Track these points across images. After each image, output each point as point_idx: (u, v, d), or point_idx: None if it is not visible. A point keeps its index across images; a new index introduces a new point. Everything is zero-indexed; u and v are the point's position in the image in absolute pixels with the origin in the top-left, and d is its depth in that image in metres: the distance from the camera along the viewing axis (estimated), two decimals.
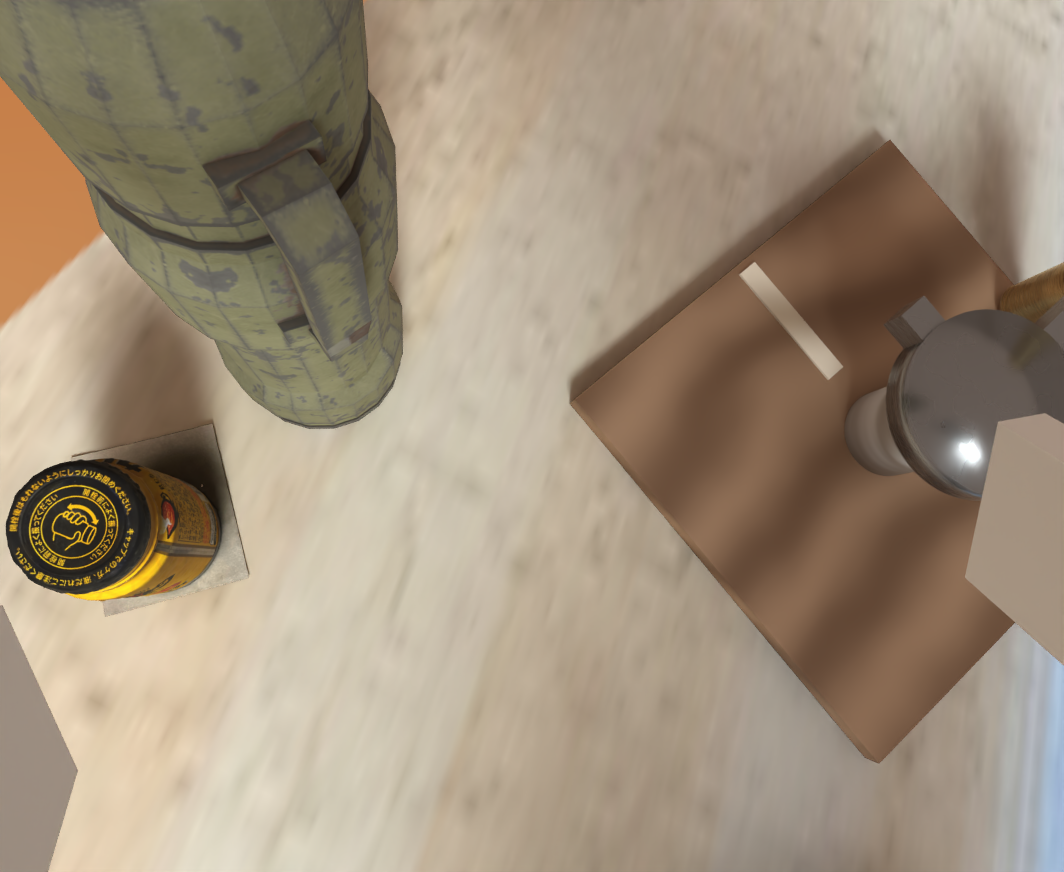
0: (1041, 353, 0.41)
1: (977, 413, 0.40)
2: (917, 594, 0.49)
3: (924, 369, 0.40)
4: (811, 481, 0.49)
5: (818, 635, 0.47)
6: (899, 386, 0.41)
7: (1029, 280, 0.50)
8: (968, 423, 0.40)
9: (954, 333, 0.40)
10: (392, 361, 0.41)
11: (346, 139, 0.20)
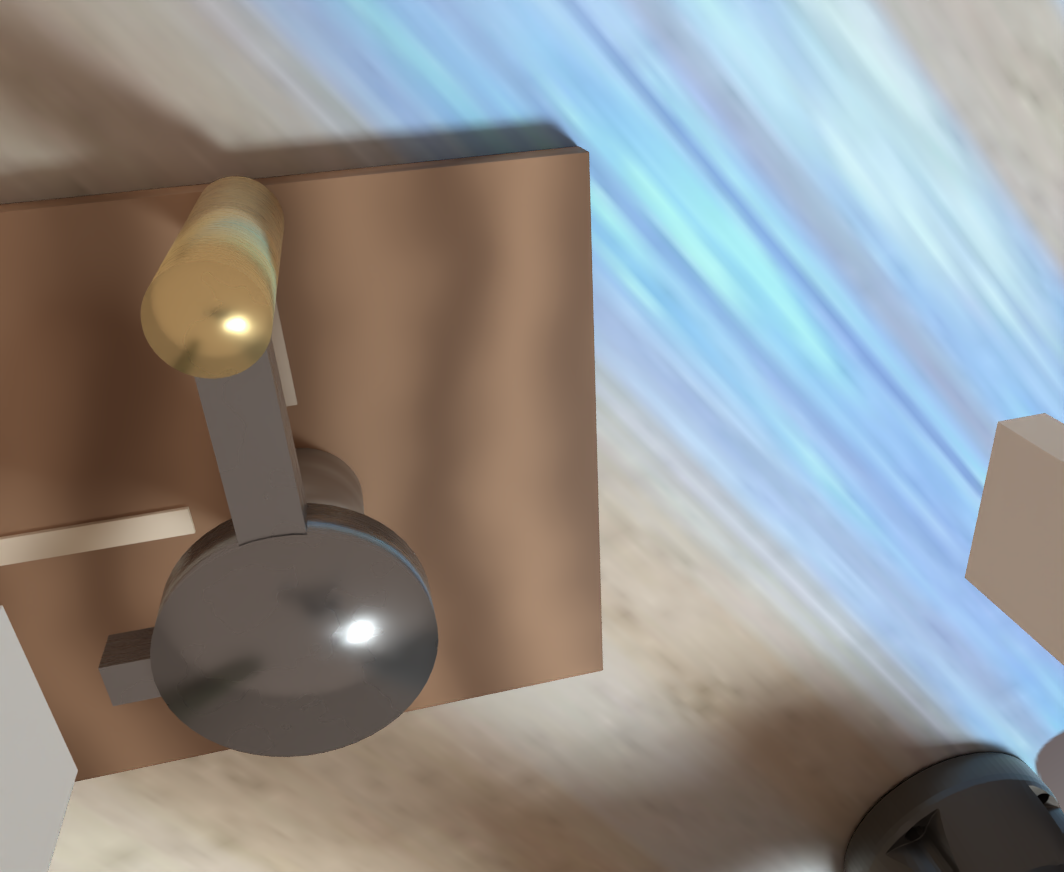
0: (270, 569, 0.26)
1: (298, 683, 0.28)
2: (495, 560, 0.40)
3: (203, 718, 0.28)
4: None
5: (460, 668, 0.42)
6: None
7: None
8: (303, 699, 0.29)
9: (174, 664, 0.27)
10: None
11: None
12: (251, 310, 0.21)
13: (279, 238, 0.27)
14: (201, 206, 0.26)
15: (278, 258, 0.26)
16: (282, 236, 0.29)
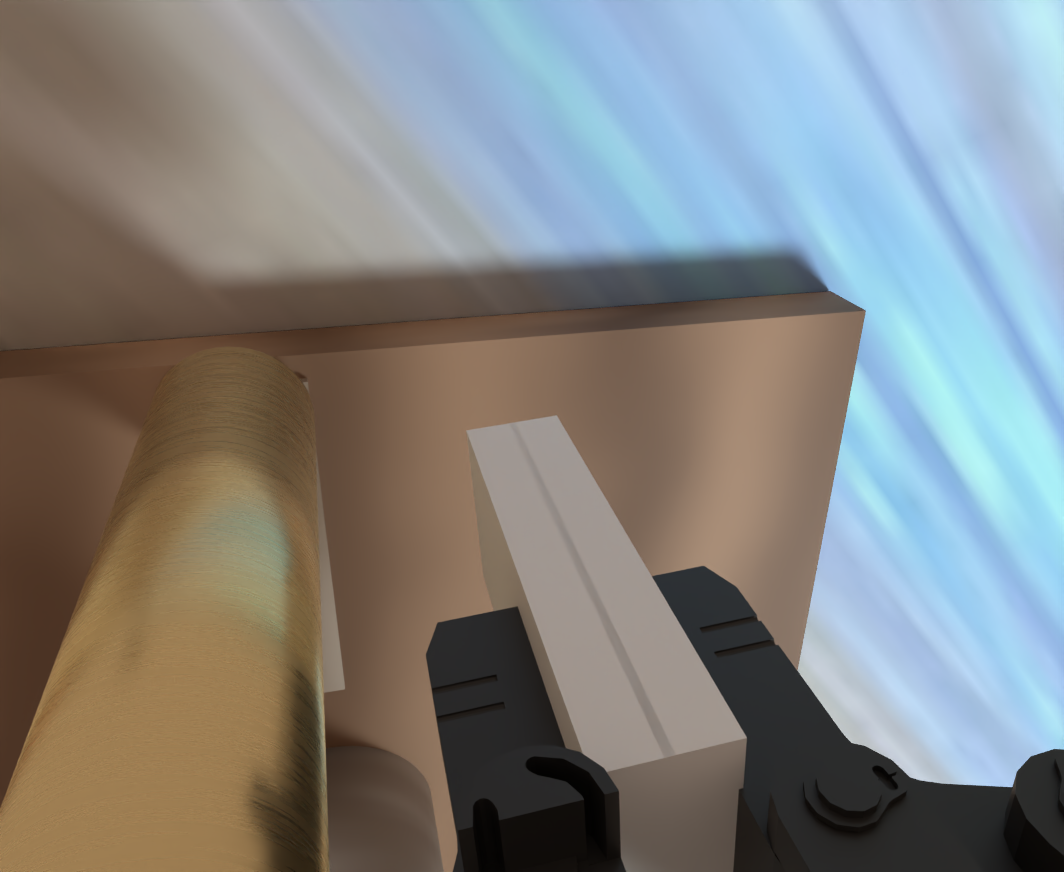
0: None
1: None
2: None
3: None
4: None
5: None
6: None
7: None
8: None
9: None
10: None
11: None
12: None
13: (315, 502, 0.14)
14: (153, 461, 0.12)
15: (319, 580, 0.12)
16: (316, 472, 0.15)
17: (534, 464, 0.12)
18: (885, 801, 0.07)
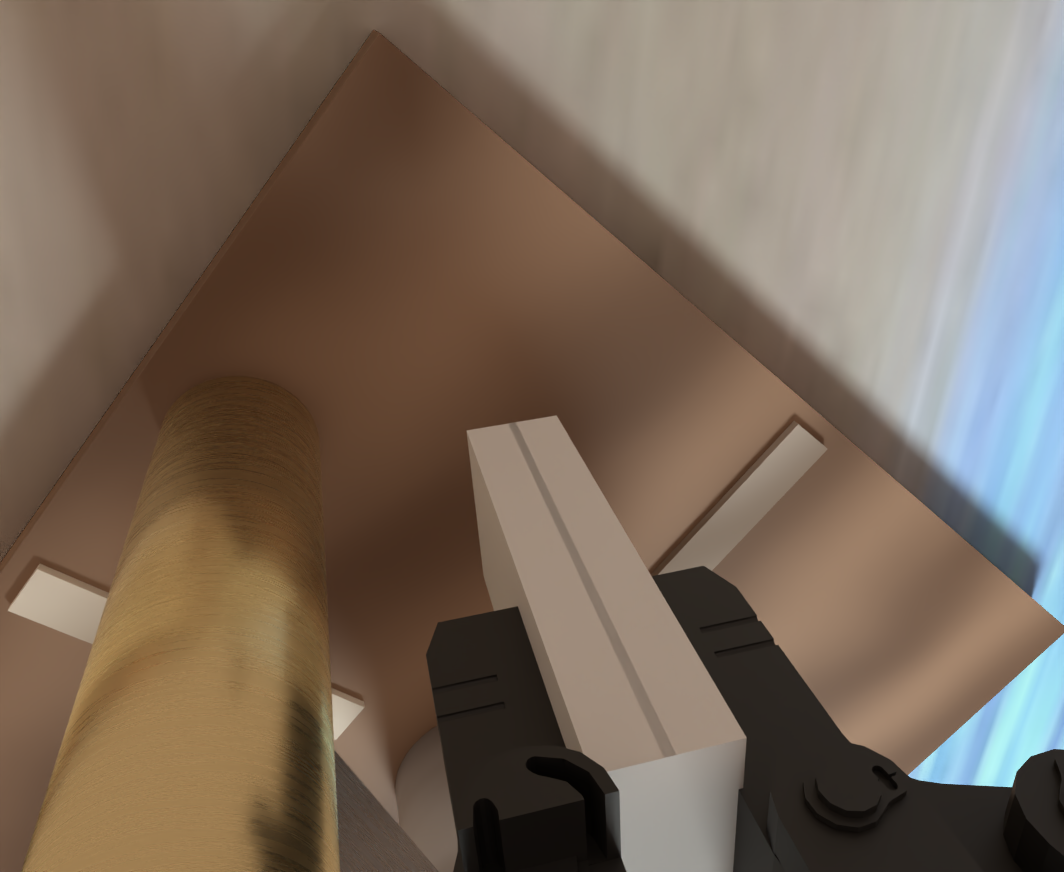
0: None
1: None
2: None
3: None
4: None
5: None
6: None
7: None
8: None
9: None
10: None
11: None
12: None
13: (308, 509, 0.14)
14: (139, 519, 0.13)
15: (315, 588, 0.12)
16: (316, 476, 0.15)
17: (534, 464, 0.12)
18: (885, 802, 0.07)
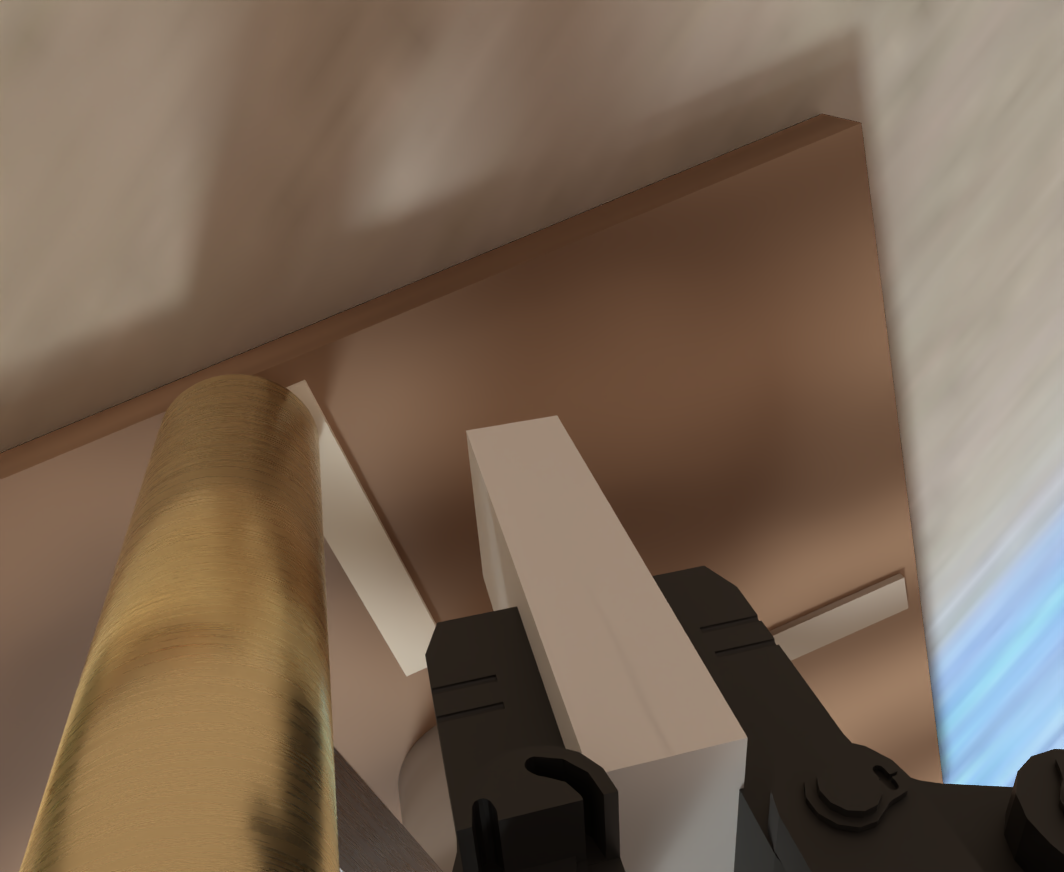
0: None
1: None
2: None
3: None
4: None
5: None
6: None
7: None
8: None
9: None
10: None
11: None
12: None
13: (307, 507, 0.14)
14: (137, 517, 0.13)
15: (314, 585, 0.12)
16: (315, 474, 0.15)
17: (534, 463, 0.12)
18: (885, 801, 0.07)
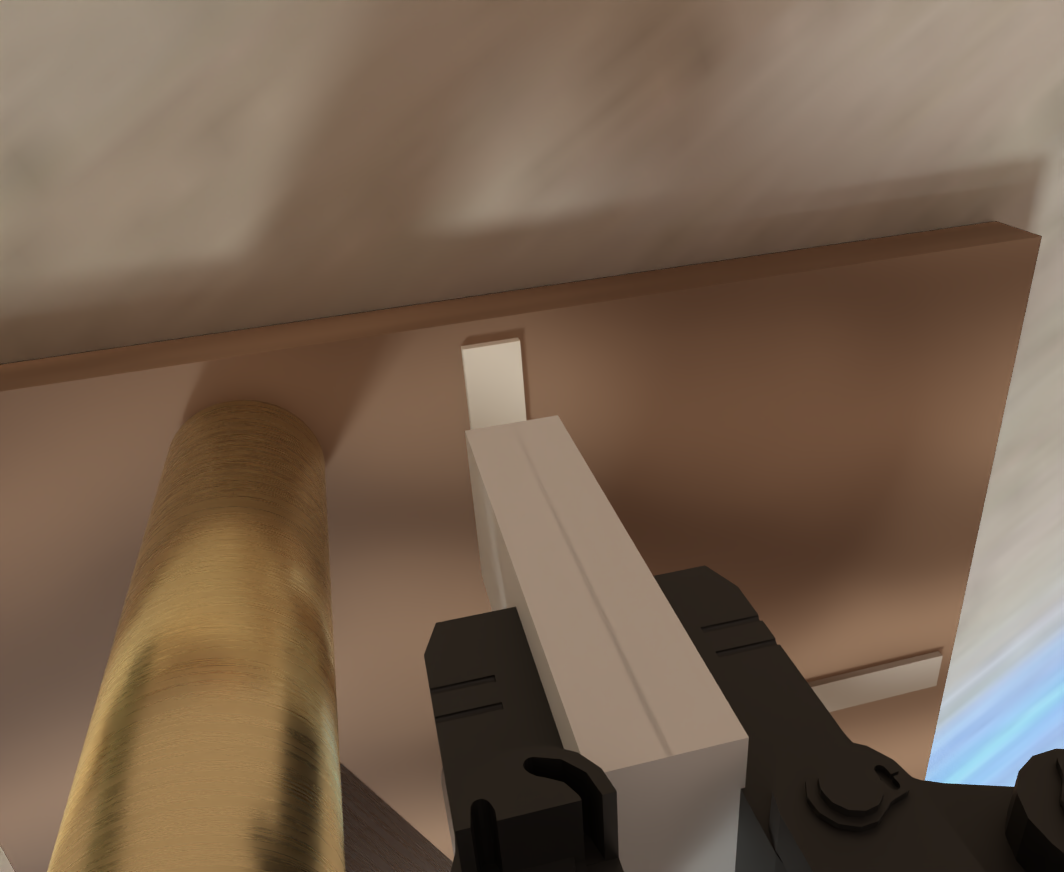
0: None
1: None
2: None
3: None
4: None
5: None
6: None
7: None
8: None
9: None
10: None
11: None
12: None
13: (308, 529, 0.14)
14: (142, 554, 0.13)
15: (315, 608, 0.12)
16: (318, 493, 0.15)
17: (535, 463, 0.12)
18: (887, 801, 0.07)
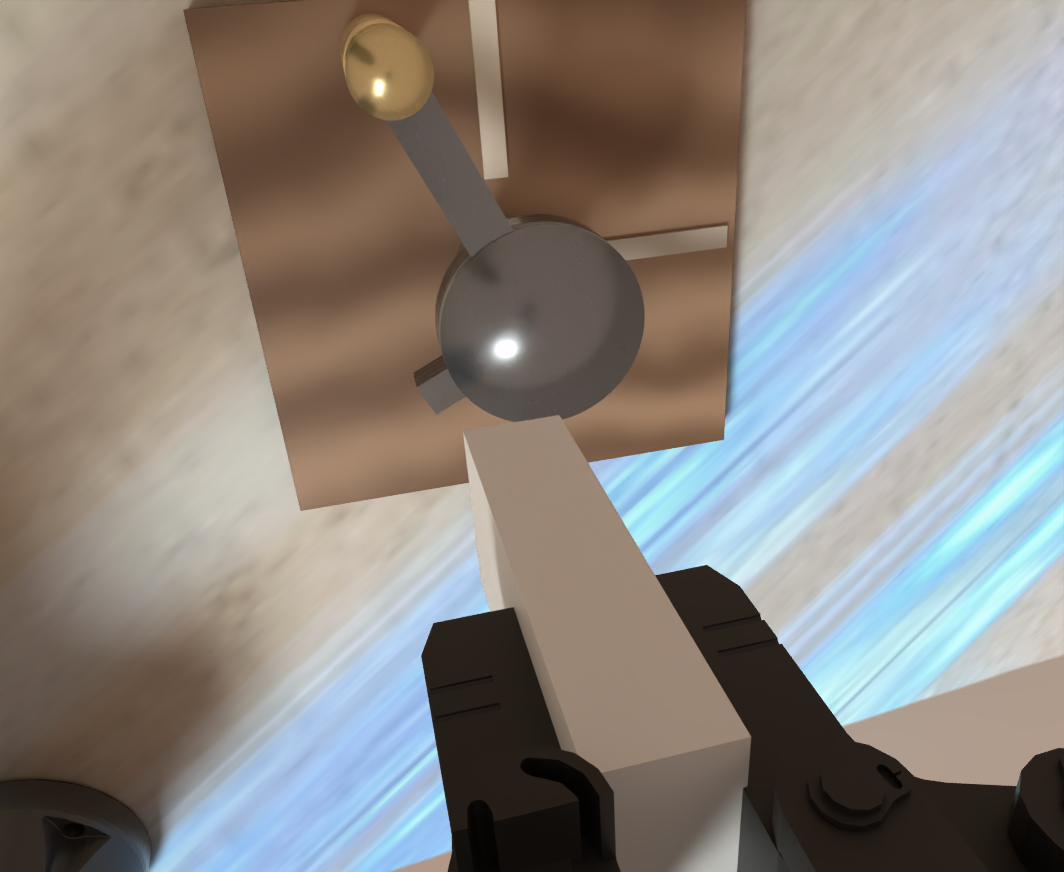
0: (499, 268, 0.35)
1: (552, 355, 0.37)
2: (429, 411, 0.48)
3: (498, 404, 0.38)
4: (398, 262, 0.44)
5: (312, 392, 0.46)
6: None
7: None
8: (561, 367, 0.38)
9: (463, 366, 0.37)
10: None
11: None
12: (413, 53, 0.29)
13: None
14: (347, 33, 0.35)
15: None
16: None
17: (537, 463, 0.12)
18: (889, 799, 0.07)
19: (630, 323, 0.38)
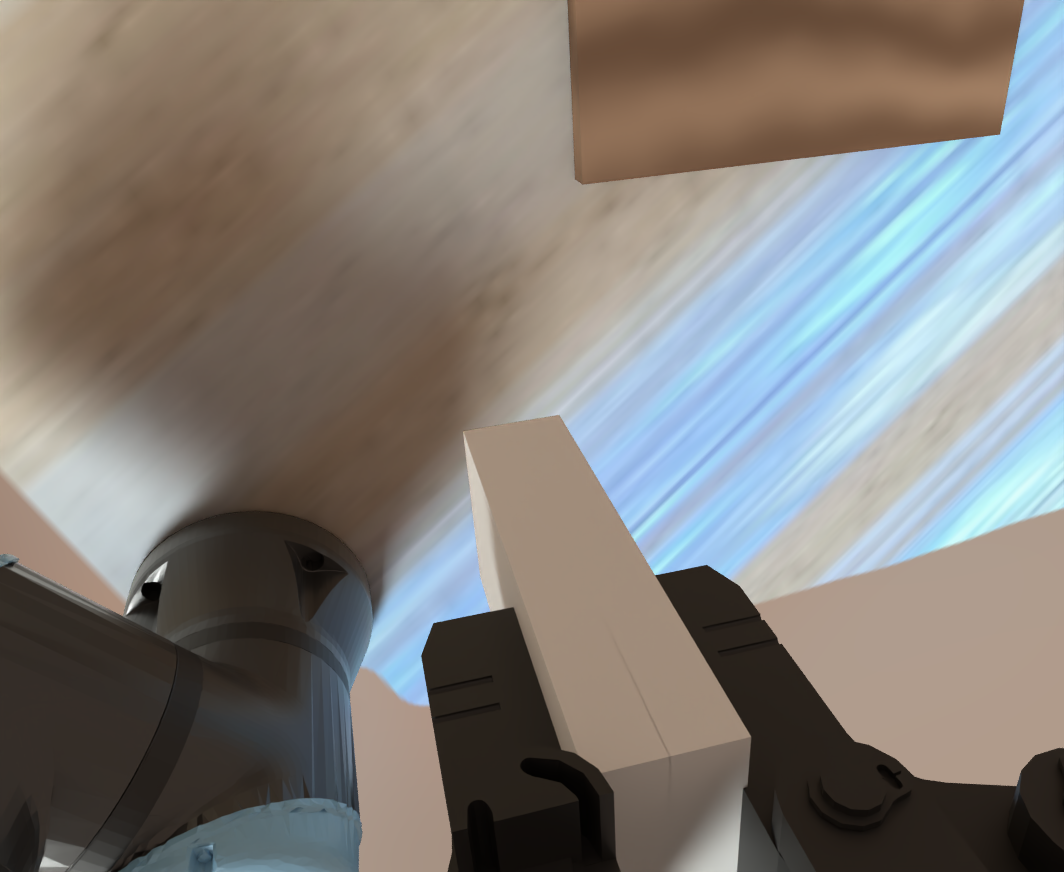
0: None
1: None
2: (724, 71, 0.46)
3: None
4: None
5: (615, 34, 0.44)
6: None
7: None
8: None
9: None
10: None
11: None
12: None
13: None
14: None
15: None
16: None
17: (537, 462, 0.12)
18: (889, 799, 0.07)
19: None
